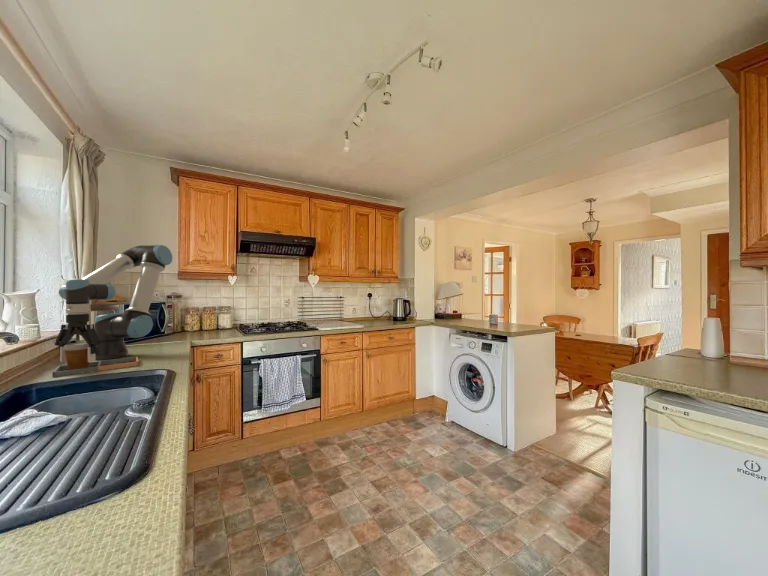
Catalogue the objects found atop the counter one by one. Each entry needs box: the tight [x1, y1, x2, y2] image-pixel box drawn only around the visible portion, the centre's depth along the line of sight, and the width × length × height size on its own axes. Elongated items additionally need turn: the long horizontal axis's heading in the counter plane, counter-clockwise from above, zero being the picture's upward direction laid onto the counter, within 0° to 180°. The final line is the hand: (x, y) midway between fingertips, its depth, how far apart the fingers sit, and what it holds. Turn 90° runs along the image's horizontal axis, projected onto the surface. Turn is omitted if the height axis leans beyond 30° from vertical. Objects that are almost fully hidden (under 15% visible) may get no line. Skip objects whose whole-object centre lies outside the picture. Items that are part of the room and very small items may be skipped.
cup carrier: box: [52, 356, 140, 378], centre depth 147 cm, size 15×28×2 cm, turn 129°
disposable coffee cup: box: [63, 341, 89, 370], centre depth 143 cm, size 10×10×12 cm
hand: (77, 361), depth 142 cm, fingers open, 13 cm apart
